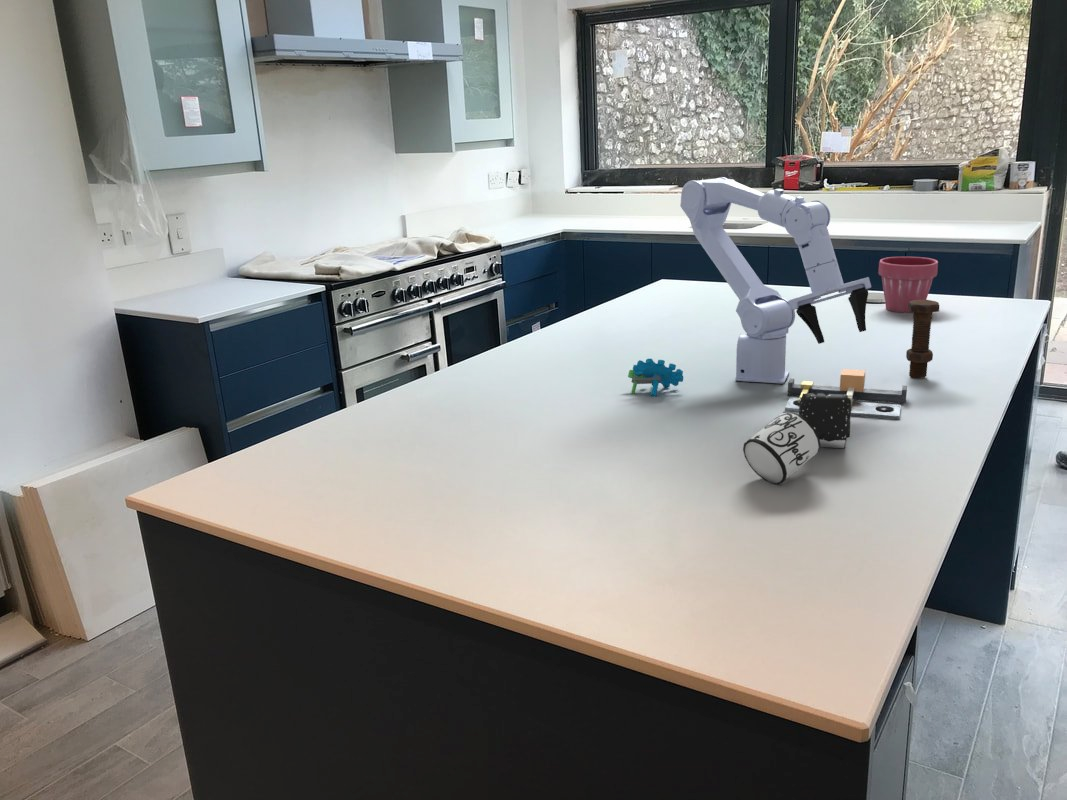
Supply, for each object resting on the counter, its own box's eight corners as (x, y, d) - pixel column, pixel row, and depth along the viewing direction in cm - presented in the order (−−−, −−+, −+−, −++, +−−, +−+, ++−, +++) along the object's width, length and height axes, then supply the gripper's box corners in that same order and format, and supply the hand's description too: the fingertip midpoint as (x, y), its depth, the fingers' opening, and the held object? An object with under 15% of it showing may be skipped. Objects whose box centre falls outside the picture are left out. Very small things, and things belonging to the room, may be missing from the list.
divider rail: (782, 406, 160) (782, 392, 159) (789, 391, 168) (790, 378, 167) (904, 415, 152) (905, 401, 151) (906, 399, 160) (907, 385, 159)
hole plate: (784, 410, 158) (784, 406, 157) (789, 400, 163) (790, 396, 163) (899, 419, 150) (899, 415, 150) (900, 408, 156) (900, 404, 155)
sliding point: (836, 404, 156) (837, 384, 155) (841, 388, 165) (842, 368, 164) (860, 406, 154) (861, 385, 153) (864, 389, 163) (865, 370, 162)
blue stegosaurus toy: (692, 380, 173) (673, 354, 165) (686, 407, 170) (667, 381, 163) (641, 382, 179) (620, 357, 171) (635, 407, 176) (614, 383, 169)
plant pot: (943, 313, 224) (948, 263, 220) (887, 316, 224) (891, 265, 220) (920, 302, 237) (924, 255, 233) (868, 304, 238) (871, 257, 234)
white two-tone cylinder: (798, 499, 122) (801, 432, 119) (734, 484, 128) (734, 419, 125) (868, 445, 140) (871, 385, 137) (808, 433, 146) (810, 376, 143)
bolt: (934, 381, 169) (941, 305, 165) (906, 381, 170) (912, 305, 166) (928, 373, 175) (934, 299, 170) (901, 373, 176) (906, 299, 171)
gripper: (786, 274, 158) (807, 346, 157) (866, 250, 156) (888, 324, 156) (779, 279, 165) (799, 349, 164) (855, 257, 163) (876, 327, 163)
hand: (842, 337), depth 161 cm, fingers open, 7 cm apart
